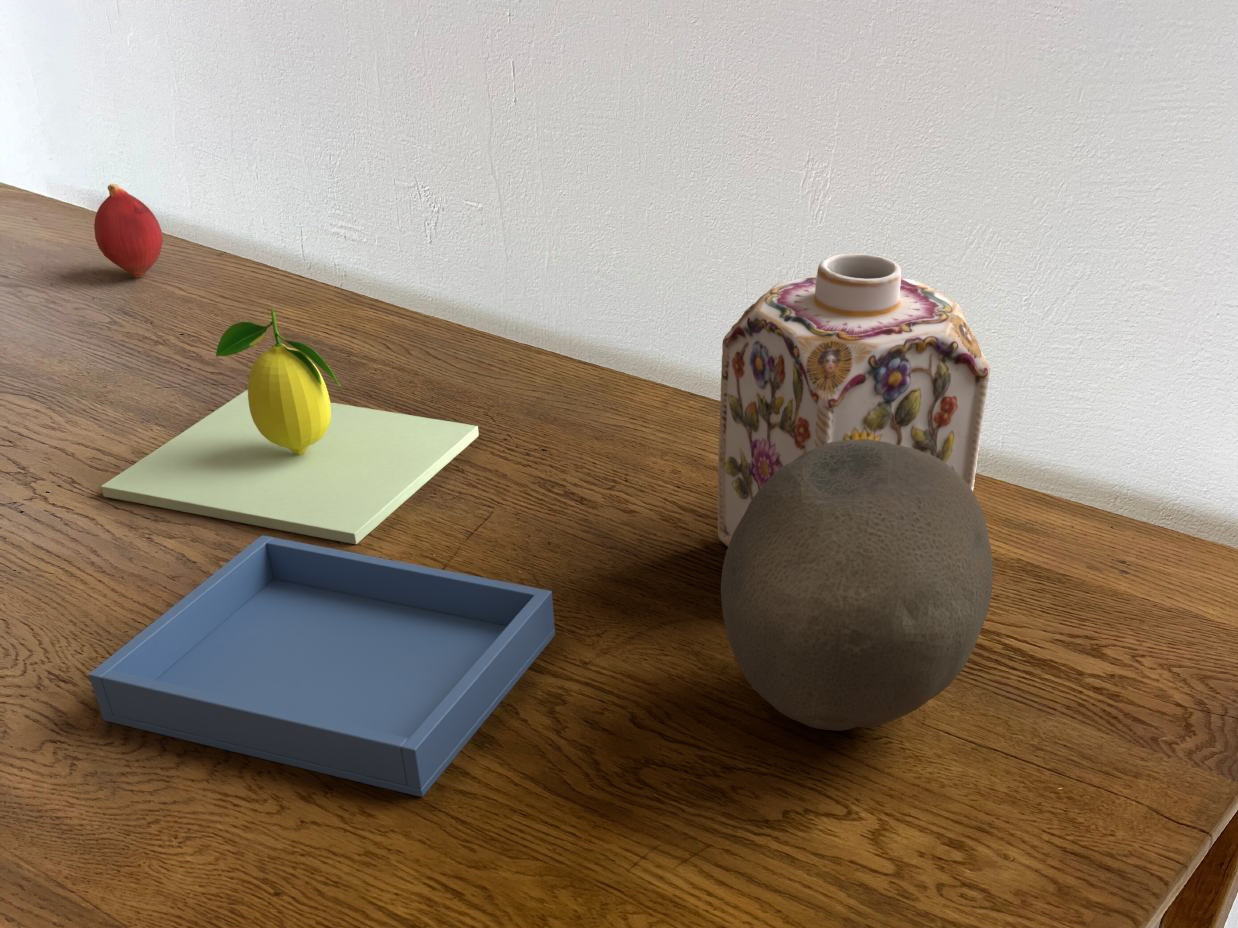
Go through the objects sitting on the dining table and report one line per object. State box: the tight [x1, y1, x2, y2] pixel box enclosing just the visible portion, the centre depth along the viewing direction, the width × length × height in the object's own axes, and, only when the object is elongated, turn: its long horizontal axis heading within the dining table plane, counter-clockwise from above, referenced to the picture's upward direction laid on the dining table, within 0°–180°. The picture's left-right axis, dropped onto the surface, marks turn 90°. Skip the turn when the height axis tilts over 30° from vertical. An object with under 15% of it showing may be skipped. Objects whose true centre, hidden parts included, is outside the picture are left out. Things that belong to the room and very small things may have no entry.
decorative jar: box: [717, 253, 991, 547], centre depth 81 cm, size 12×12×18 cm
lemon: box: [215, 309, 341, 455], centre depth 94 cm, size 7×6×10 cm
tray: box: [88, 534, 556, 798], centre depth 76 cm, size 20×17×3 cm
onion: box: [93, 183, 164, 278], centre depth 125 cm, size 6×6×8 cm
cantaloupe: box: [720, 439, 994, 732], centre depth 69 cm, size 14×14×15 cm
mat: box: [100, 389, 480, 545], centre depth 97 cm, size 20×18×1 cm
